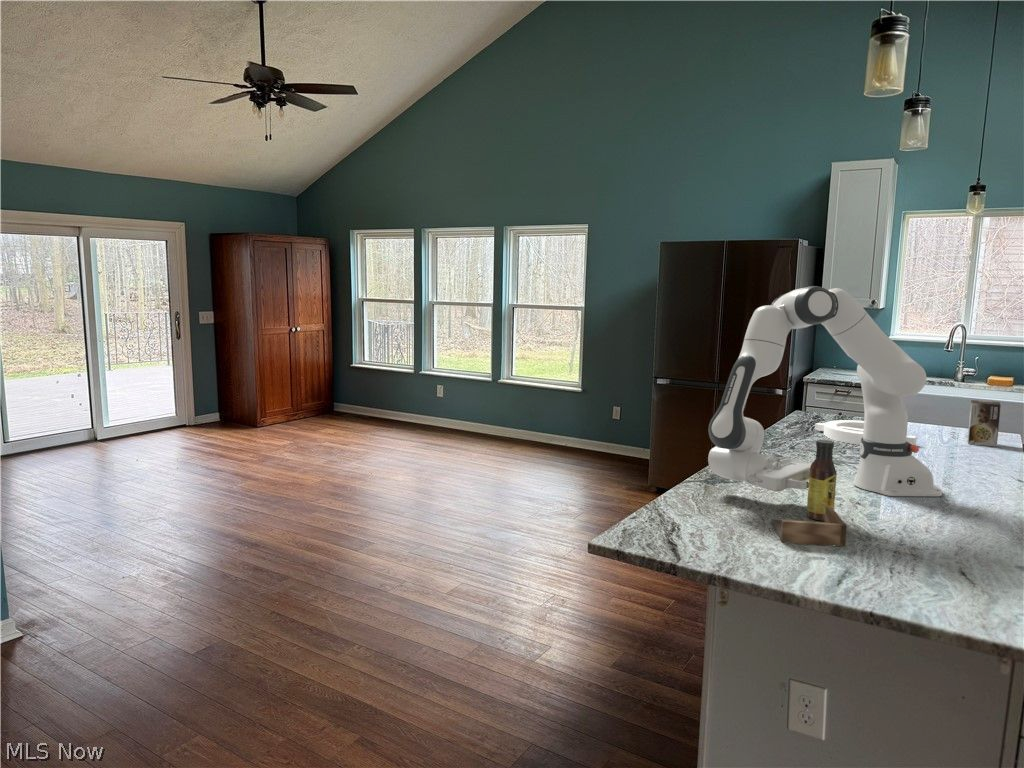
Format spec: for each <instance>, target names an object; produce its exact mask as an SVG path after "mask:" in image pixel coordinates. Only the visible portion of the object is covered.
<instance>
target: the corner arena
mask: <svg viewBox="0 0 1024 768" xmlns="http://www.w3.org/2000/svg"><path fill="white" fill-rule="evenodd" d="M770 523H771V525H772V527H773V528H774V529H773V530H775V533H776V532H777V533H776V535H777V534H778V535H777V536H778V538H779V540H780V543H784V542H789V543H788V544H798V543H800V544H799V545H811V544H813V545H814V544H815V545H816V546H825V545H835V546H834V547H838V546H845V547H846V539H847V524H846V523H845V522H844V521H843V519H842V518H841V517H840V516H839V514H838V513H837V512H836V511H835V509H834V510H833V509H832V507H829V506H826V509H825V521H824V522H822V521H821V522H819V521H808V520H807V521H806V520H790V519H776V518H771V520H770ZM815 545H814V546H815Z"/></svg>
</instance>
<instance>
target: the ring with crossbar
mask: <svg viewBox="0 0 1024 768" xmlns="http://www.w3.org/2000/svg"><path fill="white" fill-rule="evenodd" d="M814 430H815V431H822V432H823V436H824V435H825V436H827V437H828V438H830V439H833V440H836V441H835V442H837V441H841V442H845V443H844V444H846V443H850V444H849V445H852V444H856V445H855V446H860V443H861V438H862V437H863V431H864V420H858V419H857V420H852V419H846V420H845V419H841V420H840V419H837V420H830V421H829V420H828V421H827V422H824V423H823V422H817V423H814ZM828 438H827V439H828ZM917 438H918V437H917V436H913V435H907V436H906V441H907V442H908V443H910V444H912V445H916V444H917ZM830 439H829V440H830ZM833 440H832V441H833ZM841 442H840V443H841Z"/></svg>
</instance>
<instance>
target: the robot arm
mask: <svg viewBox="0 0 1024 768" xmlns="http://www.w3.org/2000/svg"><path fill="white" fill-rule="evenodd" d="M820 324H821V325H822V326H823V327H824V328H825V329H826V330H827V332H828V333H829V335H830V336H831V337H832V338H833V340H834V341H835V342H836V344H838V345H839V347H840V348H841V349H842V351H843V352H844V353H845V354H846V355H847V357H849V358H850V359H852V360H853V361H854V362H855V363H856V364H857V366H856V375H857V377H858V379H859V382H860V385H861V393H862V400H863V408H864V409H863V410H864V415H863V416H864V419H863V421H864V431H863V437H862V438H861V443H860V445H859V456H860V459H859V462H858V463H859V464H858V467H857V472H856V474H855V477H854V480H853V482H852V484H853V486H856V487H857V488H860V489H862V490H865V491H870V492H875V493H878V494H881V495H884V496H888V497H942V496H943V491H942V489H941V488H940V487H939V486H938V485H936V484H935V483H934V476H933V472H932V471H931V469H930V468H928V467H927V465H925V464H924V463H923V462H921V461H920V460H919V459H918V458H917V457H915V455H913V453H914V454H917V453H918V452H920V447H919V446H917V445H916V444H914V445H912V444H910V443H908V442H907V441H906V436H908V434H907V433H908V424H909V414H908V411H907V410H906V407H905V403H904V399H903V397H911V396H915V395H917V394H919V393H920V392H921V391H922V390H923V388H925V385H926V382H927V373H926V371H925V368H923V367H922V366H921V365H920V364H919V363H918V362H917V361H915V360H914V359H913V358H912V357H910V355H908V353H907V352H905V350H903V349H902V347H900V346H899V345H898V344H897V343H896V342H894V340H892V339H891V338H890V337H889V336H888V335H886V333H885V332H884V331H883V330H882V329H881V327H879V325H878V324H877V323H876V322H875V321H874V319H873V318H872V317H871V315H869V313H868V312H867V311H866V309H864V307H863V306H862V305H861V304H860V302H858V300H856V299H855V298H854V297H853V296H852V295H851V294H849V292H847V291H846V290H844V289H842V288H839V287H835V288H830V289H826V288H825V287H822V286H818V285H816V286H815V285H811V286H809V285H808V286H806V287H801V288H797V289H793V290H790V291H789V292H787V293H783V294H780V295H779V296H777V297H776V298H775V299H774V300H773V301H772V302H771V304H770V305H769V304H768V305H766V304H765V305H761V306H759V307H757V308H756V309H755V310H754V311H753V313H752V316H751V317H750V319H749V322H748V325H747V329H746V332H745V335H744V338H743V342H742V347H741V350H740V353H739V356H738V358H737V359H736V361H735V363H734V364H733V366H732V368H731V371H730V373H729V377H728V380H727V383H726V385H725V389H724V391H723V394H722V397H721V401H720V403H719V405H718V408H717V409H716V412H715V413H714V415H713V416H712V418H711V419H710V420H709V421H710V422H709V424H708V436H709V439H710V441H711V443H713V445H715V446H714V447H712V448H711V449H710V450H709V453H708V457H707V462H708V466H709V468H710V470H711V471H712V473H713V474H715V475H716V476H719V477H721V478H724V479H727V480H731V481H734V482H743V483H744V482H745V483H747V484H749V485H751V486H756V487H759V488H762V489H765V490H769V491H772V492H782V491H784V490H787V489H800V490H808V487H809V476H810V468H811V464H812V463H810V462H806V461H802V460H798V459H795V458H787V456H786V455H785V454H774V455H772V454H771V455H770V454H767V453H766V454H764V453H761V451H762V448H763V446H764V443H765V438H766V431H765V429H764V427H763V425H762V424H761V423H760V422H759V420H755V419H753V418H751V417H747V416H744V411H745V408H746V404H747V399H748V397H749V394H750V392H751V389H752V386H753V384H754V383H755V382H756V381H757V380H758V379H760V378H762V377H766V376H769V375H771V374H773V373H774V372H776V371H777V370H778V368H779V366H780V365H781V362H782V360H783V357H784V353H785V348H786V345H787V343H786V342H787V338H788V335H789V333H790V332H791V330H795V329H796V330H798V329H806V328H808V327H810V326H811V327H812V326H814V325H815V326H817V325H820Z"/></svg>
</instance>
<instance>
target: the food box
mask: <svg viewBox="0 0 1024 768" xmlns="http://www.w3.org/2000/svg"><path fill="white" fill-rule="evenodd" d="M1001 407H1002V406H1001V402H1000V401H993V400H992V401H990V400H989V401H988V400H975V399H974V400H973V399H972V400H970V409H969V418H968V419H969V421H968V431H967V432H968V433H967V439H966V440H967V445H974V446H985V447H986V446H987V447H998V440H999V439H998V438H999V437H998V436H999V427H1000V417H1001V416H1000V415H1001Z"/></svg>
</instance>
